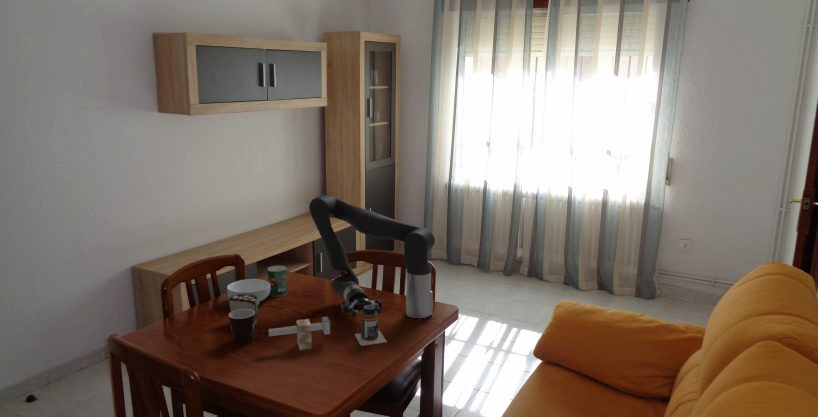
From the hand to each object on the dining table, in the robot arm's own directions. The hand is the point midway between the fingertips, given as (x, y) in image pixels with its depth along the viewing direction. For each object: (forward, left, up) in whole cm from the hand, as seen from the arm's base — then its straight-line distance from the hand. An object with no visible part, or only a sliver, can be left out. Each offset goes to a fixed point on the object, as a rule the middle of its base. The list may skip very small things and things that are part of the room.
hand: (367, 313), depth 207 cm
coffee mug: (+41, -10, -8) cm, 43 cm away
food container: (+39, -26, -8) cm, 47 cm away
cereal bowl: (+37, -46, -8) cm, 59 cm away
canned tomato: (+25, -52, -8) cm, 58 cm away
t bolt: (+24, +2, -4) cm, 24 cm away
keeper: (+22, +2, -8) cm, 24 cm away
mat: (0, +3, -8) cm, 9 cm away
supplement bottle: (0, +3, -8) cm, 8 cm away
